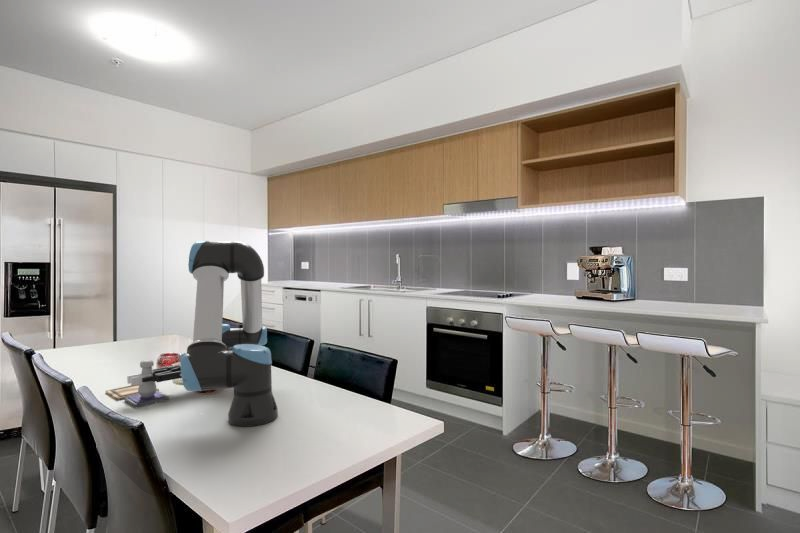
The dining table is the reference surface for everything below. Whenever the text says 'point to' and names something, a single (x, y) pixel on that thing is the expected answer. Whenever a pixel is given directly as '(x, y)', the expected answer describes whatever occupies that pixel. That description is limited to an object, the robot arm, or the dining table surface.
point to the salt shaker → (148, 387)
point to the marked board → (124, 392)
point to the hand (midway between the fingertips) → (129, 380)
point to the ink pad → (146, 399)
